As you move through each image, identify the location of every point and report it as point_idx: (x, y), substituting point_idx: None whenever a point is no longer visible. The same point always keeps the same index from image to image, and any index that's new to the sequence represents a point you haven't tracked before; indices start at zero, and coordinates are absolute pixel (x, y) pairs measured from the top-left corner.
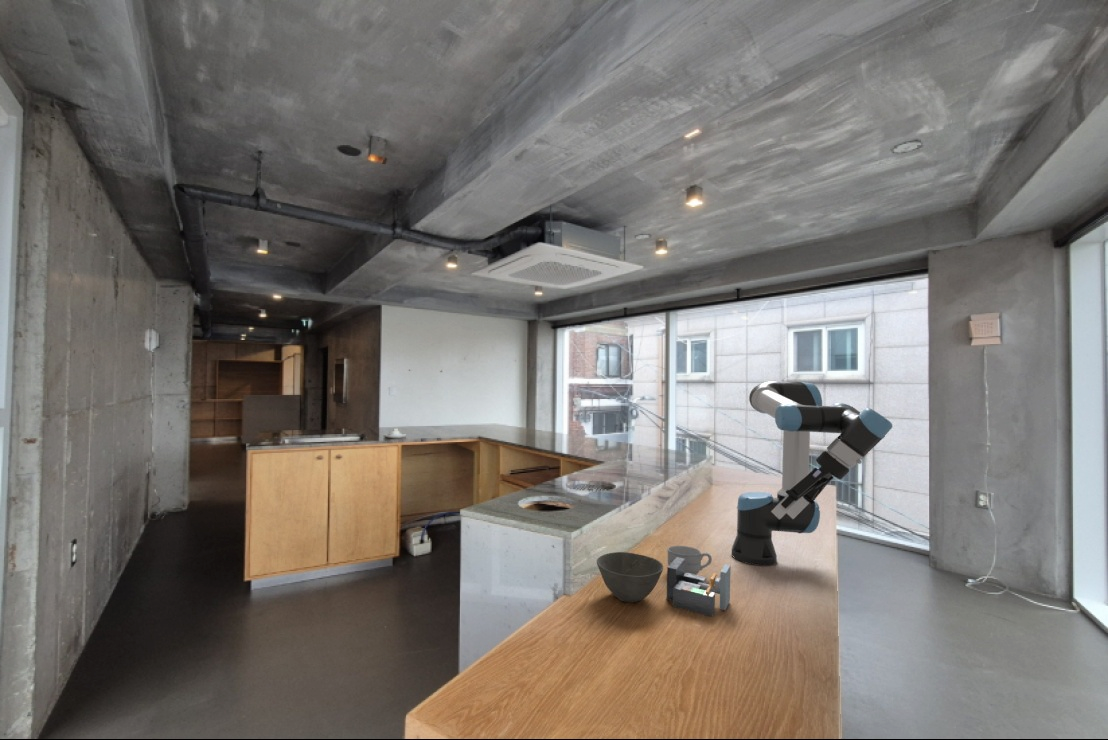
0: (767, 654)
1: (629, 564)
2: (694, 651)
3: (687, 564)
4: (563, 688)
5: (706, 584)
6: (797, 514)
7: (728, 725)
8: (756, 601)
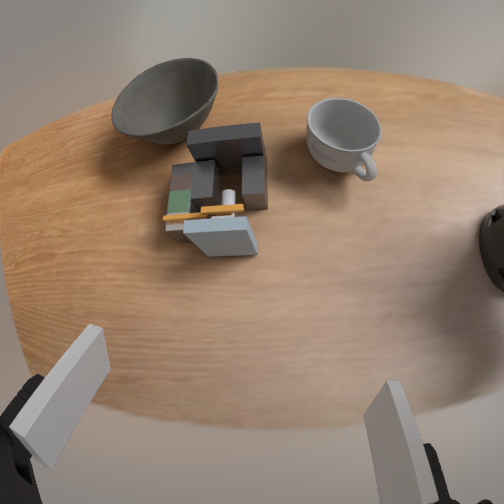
0: (110, 335)
1: (210, 85)
2: (81, 248)
3: (312, 146)
4: (21, 182)
5: (225, 204)
6: (372, 443)
7: (12, 302)
8: (298, 300)
